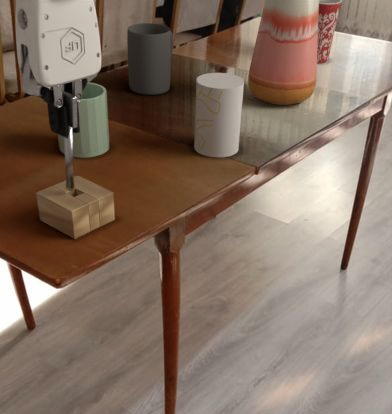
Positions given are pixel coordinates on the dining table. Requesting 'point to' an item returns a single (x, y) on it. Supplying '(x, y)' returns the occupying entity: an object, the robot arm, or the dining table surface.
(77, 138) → the mint green mug
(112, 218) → the spoon stand
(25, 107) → the dining table surface
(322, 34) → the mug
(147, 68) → the mug
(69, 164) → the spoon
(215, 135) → the white cylinder
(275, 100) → the vase
